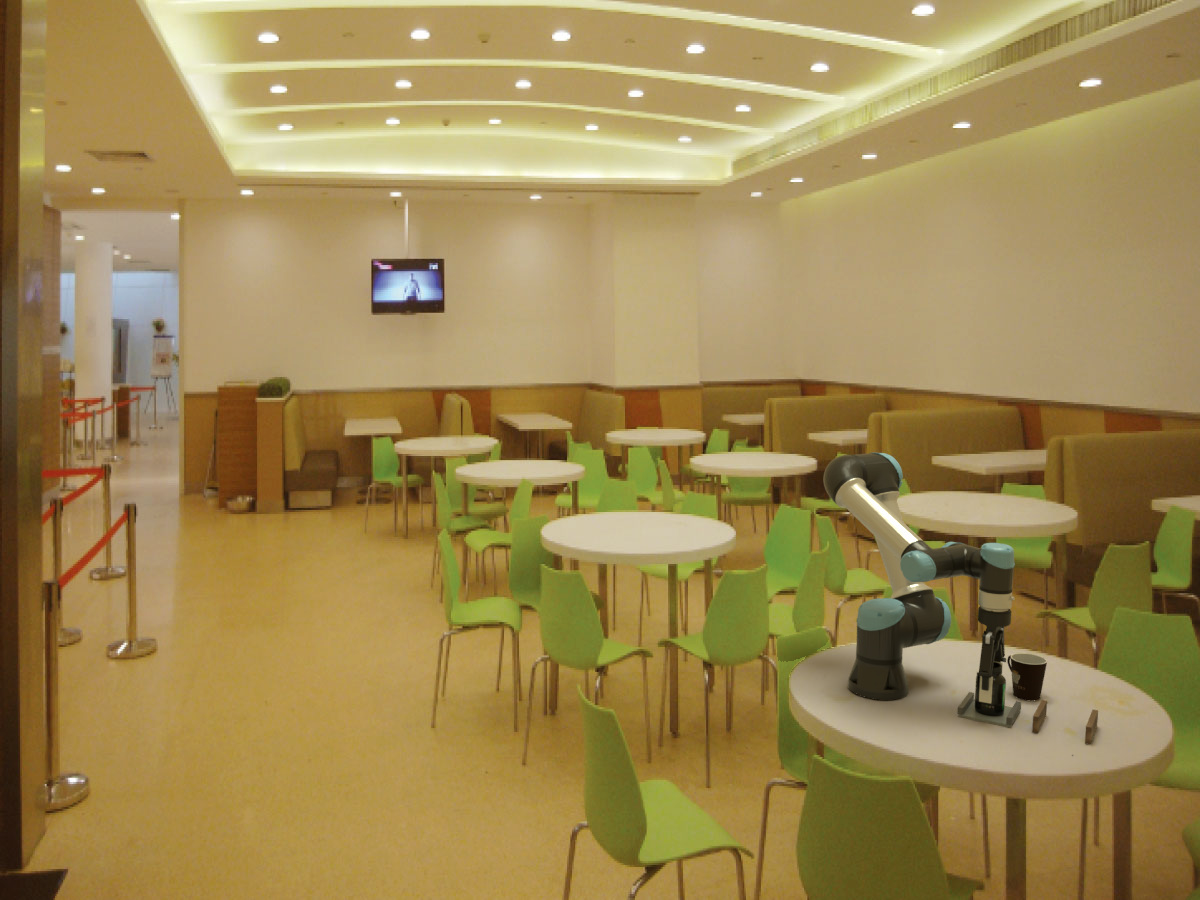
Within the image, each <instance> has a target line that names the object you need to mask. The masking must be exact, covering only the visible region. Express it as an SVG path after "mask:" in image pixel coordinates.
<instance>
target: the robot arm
mask: <svg viewBox="0 0 1200 900" xmlns="http://www.w3.org/2000/svg"><path fill="white" fill-rule="evenodd" d="M903 479H904V476H903V469H902V467H901V465H900V464H899V462H898V461H897V460H896V459H895V457H894V456H892V455H890V454H888V453H884V452H874V451H873V452H870V453H858V454H844V455H840V456H837V457H835V458H833V459H832V460H831V461H830V462H829V463H828V464H827V465H826V467H825V470H824V473H823V480H822V481H823V486H824V490H825V492H826V494H827V495H828V496H829V498H830V499H831V500H832V501H833V502H834V504H835V505H837V507H840V508H842V509H846V510H848V511H849V513H851V514H852V516H854V518H856V520H858V522H860V523H861V524H862V525H863V526H864V528H866V529H867V530H868V531H869V532H870V533H871V534H872V535H873V536H874V539H875V541H876V544H877V547H878V550H879V554H880V556H881V560H882V563H883V567H884V569H885V573H886V575H887V578H888V581H889V585H890V587H891V590H892V594H891V596H890V597H884V598H880V597H879V598H873V599H869V600H866V601H864V602H862V603H861V604H860V606H859V607H858V609H857V616H856V648H855V649H856V652H855V660H854V663H853V666H852V668H851V671H850V673H849V676H848V681H847V685H848V686H847V687H849V688H848V690H849V689H850V690H851V691H850V690H849V691H850V692H852V691H853V692H854V693H853V692H852V693H853V694H855V693H857V694H858V695H857V694H856V695H857V696H859V695H861V696H860V697H862V696H865V697H864V698H866V697H869V698H868V699H870V698H874V699H873V700H877V699H881V700H880V701H891V700H892V701H893V700H899V698H900V699H903V698H905V697H906V696H907V695H908V694H909V683H908V682H909V681H908V679H907V676H906V672H905V669H904V666H903V652H904V651H903V649H907V648H910V647H916V646H917V647H918V646H922V645H931V644H933V643H936V642H939V641H941V640H943V639H944V638H945V637H946V636H948V633H949V630H950V629H951V625H952V614H951V610H950V608H949V606H948V605H947V603H946V601H944V600H943V599H942V598H940V597H937V596H936V595H935V593H934V590H933V588H932V587H930V586H928V585H926V582H927V583H928V582H930V581H935V580H941V579H949V578H953V577H954V578H955V577H962V576H964V577H968V578H972V579H974V580H975V579H976V580H978V581H979V583H978V584H979V585H978V587H979V588H978V602H977V603H978V607H977V609H978V610H977V621H978V622H979V623H980V624H981V625H984V626H985V627H986V628H985V630H984V631H983V634H982V635H981V639H982V640H981V641H982V642H981V650H980V659H979V665H978V666H979V667H978V671H976V676H977V675H978V676H980V691H979V701H980V702H985V703H990V704H991V701H992V682H993V677H992V670H993V664H994V662H997V663H999V664H1001V665H1002V666H1003V663H1007V657H1005V656H1006V654H1005V652H1006V651H1005V650H1006V649H1005V628H1006V627H1008V626H1010V625H1011V624H1012V610H1011V608H1012V605H1013V604H1012V603H1013V602H1012V601H1015V596H1013V589H1014V588H1013V583H1014V572H1015V565H1016V563H1015V550H1014V548H1013V546H1011V545H1009V544H1006V543H999V542H987V543H983V544H982V545H981V548H979V547H976V546H972V545H969V544H966V543H962V542H956V541H955V542H954V541H948V542H946V543H945V544H944V545H942V546H941V547H936V548H933V547H931V546H930V545H928V543H926V542H925V541H924V540H923V539H922V538H921V537H920V536H919V535H918V534H917V533H915V532H914V530H912V529H911V528H910V527H909V526H908V525H907V524H906V523H905V522H904V519H903V516H902V513H901V511H900V510H901V509H900V507H899V504H898V499H899V497H900V495H901V492H900V488H901V487H902V485H903V481H902V480H903ZM985 671H987V672H985ZM1001 675H1003V673H1002V674H1001ZM904 696H905V697H904ZM902 697H903V698H902ZM882 699H883V700H882Z"/></svg>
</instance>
